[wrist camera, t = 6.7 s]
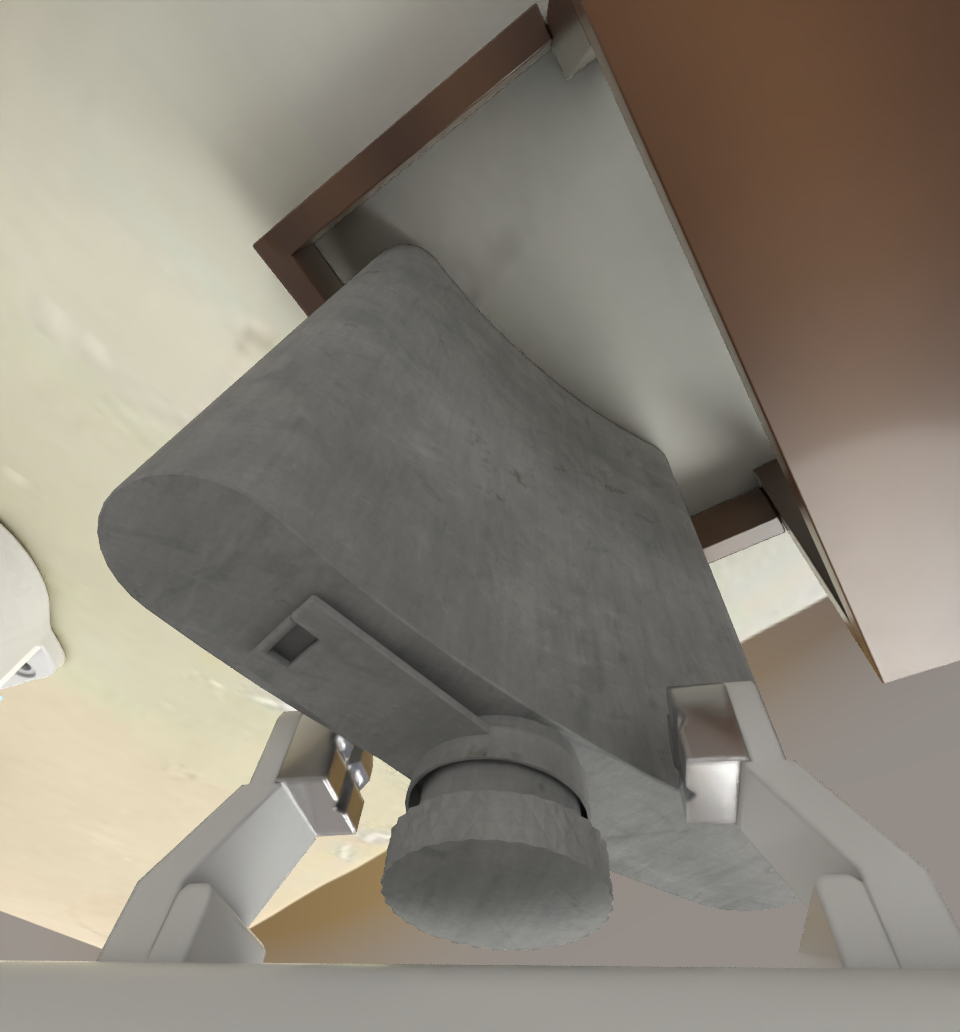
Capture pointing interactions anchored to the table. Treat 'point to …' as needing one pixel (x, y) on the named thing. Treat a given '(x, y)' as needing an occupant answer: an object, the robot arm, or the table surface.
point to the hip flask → (454, 604)
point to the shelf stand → (778, 262)
